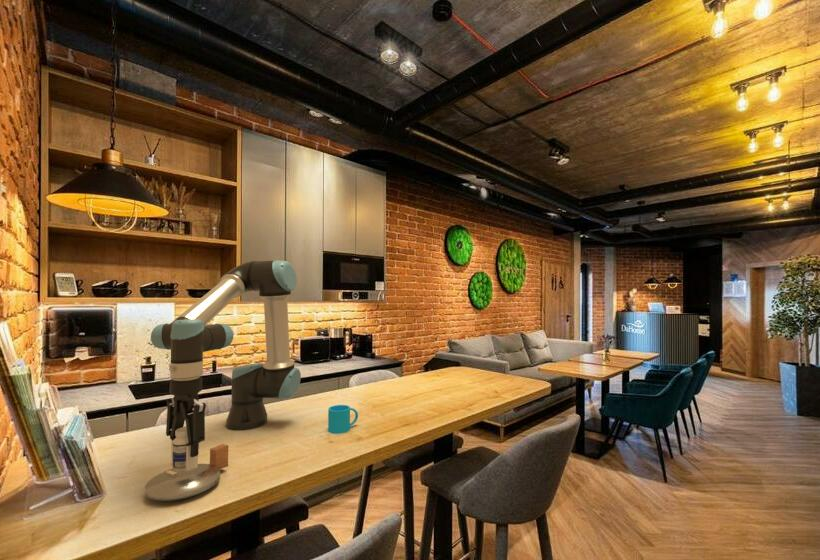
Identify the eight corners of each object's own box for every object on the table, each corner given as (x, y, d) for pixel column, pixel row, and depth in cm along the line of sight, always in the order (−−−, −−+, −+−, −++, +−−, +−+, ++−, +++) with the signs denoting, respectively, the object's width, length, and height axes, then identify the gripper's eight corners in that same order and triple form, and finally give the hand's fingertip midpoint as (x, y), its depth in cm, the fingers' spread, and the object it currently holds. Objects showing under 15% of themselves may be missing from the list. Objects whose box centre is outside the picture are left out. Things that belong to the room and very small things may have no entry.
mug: (333, 435, 136) (333, 412, 136) (324, 428, 142) (324, 407, 143) (362, 428, 143) (362, 406, 143) (353, 422, 149) (353, 402, 150)
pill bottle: (192, 460, 103) (193, 423, 103) (201, 465, 99) (201, 428, 100) (168, 467, 98) (169, 429, 99) (177, 474, 95) (177, 434, 95)
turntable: (130, 490, 95) (131, 467, 95) (206, 459, 113) (207, 439, 113) (169, 508, 87) (170, 482, 87) (244, 471, 105) (245, 450, 105)
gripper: (151, 376, 101) (149, 464, 100) (194, 384, 92) (192, 480, 91) (179, 372, 107) (177, 454, 106) (222, 378, 99) (220, 467, 98)
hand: (184, 465), depth 99 cm, fingers closed on pill bottle, 6 cm apart
